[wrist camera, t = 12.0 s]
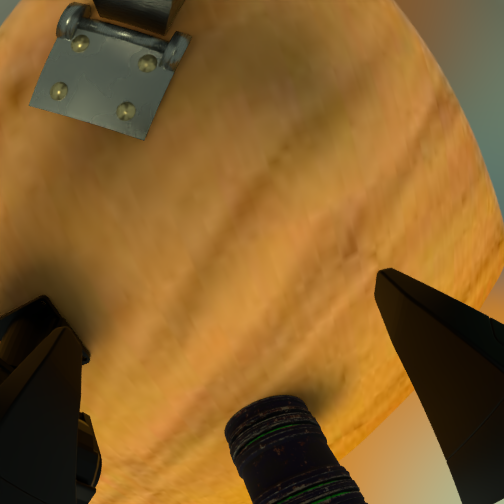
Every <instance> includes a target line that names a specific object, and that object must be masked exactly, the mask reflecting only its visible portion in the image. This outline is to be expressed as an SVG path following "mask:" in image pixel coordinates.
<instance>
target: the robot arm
mask: <svg viewBox="0 0 504 504" xmlns="http://www.w3.org/2000/svg"><path fill="white" fill-rule="evenodd" d="M374 296H375V301H376V303H377V306H378V308H379V311H380V313H381V316H382V318H383V321H384V323H385V326H386V329H387V331H388V334H389V336H390V339H391V341H392V344H393V346H394V348H395V350H396V352H397V354H398V356H399V358H400V360H401V362H402V364H403V366H404V368H405V370H406V372H407V374H408V376H409V378H410V380H411V382H412V384H413V386H414V389H415V391H416V393H417V395H418V397H419V399H420V401H421V403H422V406H423V408H424V410H425V412H426V415H427V417H428V419H429V421H430V423H431V426H432V428H433V430H434V433H435V435H436V437H437V440H438V442H439V444H440V447H441V449H442V452H443V454H444V457H445V459H446V460H447V464H448V467H449V469H450V472H451V474H452V477H453V480H454V482H455V485H456V488H457V491H458V493H459V496H460V499H461V501H462V504H494V503H496V502H498V501H500V500H502V499H504V324H502V323H500V322H498V321H496V320H495V319H493V318H489V316H487V315H485V314H483V313H481V312H479V311H477V310H476V309H474V308H472V307H470V306H468V305H466V304H464V303H462V302H460V301H458V300H456V299H454V298H452V297H450V296H448V295H446V294H444V293H442V292H440V291H438V290H436V289H434V288H432V287H430V286H428V285H426V284H424V283H422V282H420V281H418V280H416V279H414V278H412V277H410V276H408V275H406V274H404V273H402V272H399V271H397V270H395V269H393V268H387V269H382V270H379V271H378V273H377V277H376V285H375V292H374ZM41 301H43V302H45V303H46V304H45V305H44V304H42V302H41ZM0 341H1V342H0V504H88V503H89V502H90V500H91V499H92V497H93V496H94V494H95V493H96V488H95V487H96V485H97V483H98V481H99V478H100V474H101V467H102V459H101V454H100V450H99V447H98V444H97V441H96V437H95V434H94V430H93V426H92V423H91V419H90V416H89V415H87V414H85V413H84V412H82V413H81V412H79V411H80V400H81V372H82V365H84V364H87V363H89V361H90V354H89V353H88V351H87V350H86V349H85V348H84V346H83V345H82V342H81V340H80V339H79V338H78V336H77V335H76V334H75V333H74V331H73V330H72V328H71V327H70V326H69V324H68V323H67V322H66V320H65V319H64V318H62V317H61V316H60V314H59V313H58V311H57V310H56V308H55V307H54V305H53V304H52V303H51V301H50V300H49V298H48V297H46V296H44V295H42V296H39V297H37V298H35V299H34V300H32V301H30V302H28V303H26V304H24V305H22V306H21V307H19V308H17V309H15V310H13V311H11V312H10V313H8V314H6V315H4V316H2V317H1V318H0ZM83 356H84V357H86V358H83Z"/></svg>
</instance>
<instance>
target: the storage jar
mask: <svg viewBox="0 0 504 504" xmlns="http://www.w3.org/2000/svg"><path fill="white" fill-rule="evenodd" d="M225 437H226V440H227V442H228V443H229V448H230V454H231V457H232V460H233V463H234V464H235V466H236V468H237V470H238V473H239V476H240V477H241V478H242V479H243V480H244V482H245V485H246V488H247V490H248V493H249V495H250V498H251V500H252V502H253V504H368V503H365V501H364V497H363V495H362V494H361V492H359V491H360V489H359V487H358V486H357V484H356V483H355V481H354V480H352V478H351V477H350V474H349V472H348V471H346V469H345V468H344V467H343V466H340V464H339V463H338V461H337V459H336V458H335V456H334V455H333V453H332V451H331V450H330V448H329V446H328V445H327V439H326V437H325V436H324V434H323V432H322V431H321V427H320V426H319V424H318V422H317V421H316V419H315V418H314V417H313V416H312V415H311V413H310V412H309V411H308V408H307V406H306V405H305V403H304V402H303V401H302V400H301V399H300V398H298V397H295V396H289V395H280V396H273V397H268V398H265V399H261V400H259V401H256V402H254V403H252V404H250V405H248V406H246V407H244V408H243V409H241V410H240V411H239V412H237V413H236V414H235V415H234V416H233V417H232V418H231V419H230V420H229V421H228V423H227V425H226V427H225Z"/></svg>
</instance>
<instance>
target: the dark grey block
mask: <svg viewBox="0 0 504 504" xmlns="http://www.w3.org/2000/svg"><path fill="white" fill-rule="evenodd" d="M93 2H94V4H95V6H96V9H97V11H98V13H99V16H100V17H103V18H107V19H111V20H114V21H118V22H122V23H125V24H129V25H132V26H135V27H139V28H142V29H145V30H148V31H151V32H154V33H157V34H160V35H163V36H165V34H166V32H167V31H168V29H169V27H170V25H171V23H172V22H173V20H174V18H175V17H176V15H177V13H178V11H179V10H180V8H181V6H182V5H183V3H184V2H185V0H93Z"/></svg>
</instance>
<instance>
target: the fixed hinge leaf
mask: <svg viewBox="0 0 504 504" xmlns="http://www.w3.org/2000/svg"><path fill="white" fill-rule="evenodd" d="M90 12H91V6H90V5H87V4H82V3H77V2H72V3H71V4H69V5H68V6H67V8H66V9H65V10H64V12H63V13H62V15H61V17H60V19H59V22H58V25H57V29H56V36H57V40H56V42H55V44H54V46H53V48H52V50H51V52H50V54H49V57H48V59H47V61H46V63H45V65H44V68H43V70H42V72H41V75H40V77H39V80H38V82H37V85H36V87H35V90H34V93H33V95H32V98H31V101H30V103H29V106H32V107H35V108H39V109H43V110H46V111H50V112H54V113H57V114H61V115H64V116H68V117H71V118H75V119H78V120H81V121H85V122H88V123H91V124H95V125H98V126H101V127H104V128H107V129H110V130H114V131H117V132H120V133H123V134H126V135H129V136H132V137H135V138H138V139H141V140H145V137H146V135H147V133H148V130H149V128H150V125H151V123H152V120H153V118H154V116H155V113H156V111H157V109H158V106H159V104H160V102H161V100H162V97H163V95H164V93H165V91H166V89H167V87H168V84H169V82H170V80H171V78H172V76H173V74H174V72H175V70H176V68H177V66H178V64H179V62H180V60H181V58H182V56H183V54H184V52H185V50H186V48H187V46H188V44H189V43H190V41H191V39H192V36H190V35H187V34H184V33H182V32H179V31H176V32H175V34H174V35H173V37H172V39H171V40H170V42H168V41H165V40H162V39H159V38H156V37H153V36H150V35H147V34H144V33H141V32H138V31H134V30H131V29H128V28H124V27H121V26H117V25H114V24H110V23H106V22H102V21H98V20H94V19H90V18H89V16H90Z"/></svg>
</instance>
